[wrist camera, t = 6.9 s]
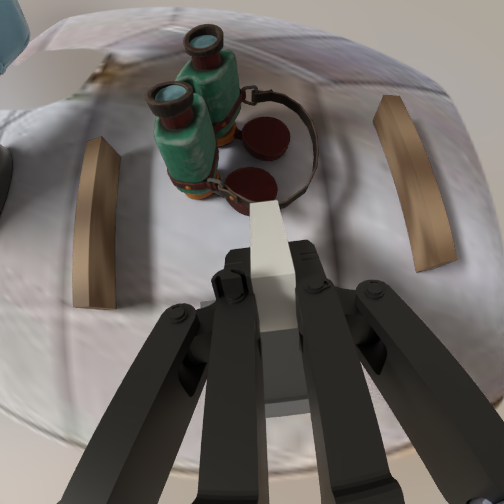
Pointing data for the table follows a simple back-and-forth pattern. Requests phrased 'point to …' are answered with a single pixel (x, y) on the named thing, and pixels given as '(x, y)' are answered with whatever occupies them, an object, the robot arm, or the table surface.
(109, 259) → the channel
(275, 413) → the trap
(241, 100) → the binoculars
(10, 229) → the table surface
